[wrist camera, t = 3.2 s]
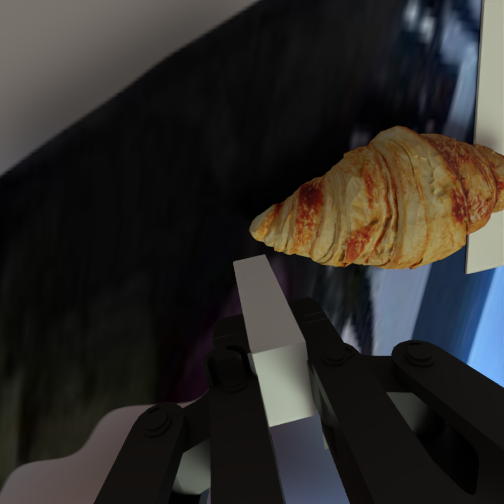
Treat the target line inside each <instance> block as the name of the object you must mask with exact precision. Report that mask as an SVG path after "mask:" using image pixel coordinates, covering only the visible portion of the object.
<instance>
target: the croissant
mask: <svg viewBox="0 0 504 504" xmlns="http://www.w3.org/2000/svg"><path fill="white" fill-rule="evenodd" d="M502 210H504V155H502V154H500V153H497V152H495V151H494V150H493V149H491V148H488V147H486V146H482V145H479V144H477V143H476V144H475V145H470V144H468V143H466V142H461V141H456V139H455V138H450V137H447V136H444V135H440V134H418V133H416V132H415V131H413V130H411V129H409V128H407V127H402V126H395V127H392V128H390V129H387V130H384V131H381V132H380V133H379V134H378V135H377V136H376V137H375V138H374V139H373V140H371V141H370V143H369V144H368V145H367V146H360V147H357V148H356V149H354V150H352V151H349V152H347V153H344V158H343V159H342V160H341V161H340V162H338V163H337V164H336V165H335V166H333V167H332V168H331V170H330V171H328V172H327V173H326V174H325V175H324V176H322V177H319V178H314V179H313V180H312V181H309V182H306V183H304V184H303V185H301V186H300V187H299V189H298V190H297V191H295V192H294V193H293V195H292V196H290V197H288V198H287V199H286V200H285V201H284V202H282V203H277V204H274V205H272V206H271V207H270V208H269V209H267V210H266V211H264V212H263V213H261V214H260V215H258V216H257V217H256V218H255V219H254V220H253V221H252V225H251V227H250V232H251V234H252V236H253V237H254V238H255V239H256V240H258V241H263V242H264V243H265V244H266V245H267V246H273V247H274V250H275V251H279V252H284V253H286V254H288V255H290V254H294V253H296V254H297V255H302V256H306V257H311V258H312V260H313V261H316V262H318V263H320V264H322V265H332V266H335V267H336V266H342V267H343V266H344V267H346V266H347V265H349V264H351V263H356V264H363V265H371V266H375V267H379V268H384V269H405V268H408V267H409V268H410V269H415V268H416V267H419V266H422V265H426V264H429V263H431V262H434V261H437V260H440V259H443V258H445V257H447V256H449V255H451V254H453V253H454V252H456V251H457V250H459V249H461V247H462V246H464V245H465V244H466V235H468V234H471V233H474V232H476V231H478V230H479V229H481V228H482V227H484V226H485V225H486V224H487V222H488V221H489V219H490V217H491V213H496V212H500V211H502Z"/></svg>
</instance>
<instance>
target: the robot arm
mask: <svg viewBox="0 0 504 504" xmlns="http://www.w3.org/2000/svg"><path fill="white" fill-rule="evenodd" d="M233 264H234V269H235V274H236V279H237V285H238V290H239V295H240V300H241V305H242V310H243V314H239V315H235V316H231V317H227V318H222V319H218V320H217V322H216V324H215V326H214V327H213V349H212V350H211V351H209V352H208V354H207V355H206V356H205V357H204V360H203V363H202V366H203V369H204V372H205V376H206V379H207V382H208V385H209V388H210V389H209V390H208V391H207V393H206V394H205V395H203V396H202V397H201V398H200V399H198V400H197V401H195V402H194V403H192V404H190V405H188V406H186V407H184V408H181V407H180V406H179V405H178V404H176V403H172V402H164V403H160V404H156V405H155V406H153V407H151V408H149V409H147V410H146V411H145V412H144V413H142V415H140V416H139V417H138V419H137V420H136V422H135V423H134V425H133V426H132V428H131V430H130V432H129V434H128V436H127V438H126V440H125V442H124V444H123V446H122V448H121V450H120V452H119V454H118V456H117V458H116V460H115V462H114V464H113V466H112V468H111V470H110V472H109V474H108V476H107V478H106V480H105V482H104V484H103V486H102V488H101V490H100V492H99V494H98V496H97V498H96V500H95V502H94V504H206V502H207V498H208V493H209V487H211V504H286V501H285V497H284V492H283V488H282V482H281V478H280V473H279V468H278V464H277V459H276V455H275V450H274V446H273V441H272V436H271V432H270V428H269V427H271V426H274V425H279V424H282V423H286V422H290V421H294V420H298V419H302V418H306V417H310V416H314V415H317V414H316V408H317V410H318V413H319V415H320V418H321V425H322V432H323V439H324V445H325V449H329V450H330V452H331V455H332V458H333V460H334V463H335V466H336V468H337V471H338V473H339V476H340V479H341V481H342V484H343V486H344V489H345V492H346V494H347V497H348V500H349V502H350V504H504V388H503V387H502V386H500V385H499V384H497V383H495V382H494V381H492V380H491V379H489V378H488V377H486V376H484V375H483V374H481V373H480V372H478V371H476V370H475V369H473V368H472V367H470V366H468V365H467V364H465V363H464V362H462V361H460V360H459V359H457V358H456V357H454V356H453V355H451V354H449V353H448V352H446V351H445V350H443V349H441V348H440V347H438V346H436V345H434V344H431V343H429V342H425V341H420V340H408V341H404V342H401V343H399V344H398V345H396V346H395V347H394V348H393V351H392V353H391V355H392V356H370V355H364V354H360V353H359V352H358V351H357V350H356V349H355V348H354V347H353V346H351V345H349V344H347V343H344V342H343V340H342V339H341V337H340V336H339V334H338V333H337V331H336V329H335V328H334V326H333V325H332V323H331V322H330V320H329V319H328V317H327V316H326V314H325V312H323V309H322V308H321V306H320V305H319V303H318V302H316V301H314V300H313V299H311V298H309V297H307V298H303V299H299V300H294V301H290V302H287V301H286V299H285V297H284V295H283V292H282V290H281V288H280V286H279V284H278V282H277V280H276V277H275V275H274V273H273V271H272V269H271V267H270V265H269V262H268V260H267V258H266V256H265V255H261V256H256V257H252V258H248V259H243V260H239V261H235V262H233ZM315 405H316V407H315Z"/></svg>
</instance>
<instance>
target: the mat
mask: <svg viewBox="0 0 504 504" xmlns="http://www.w3.org/2000/svg"><path fill="white" fill-rule="evenodd" d="M476 143H477V144H479V145H482V146H486V147H488V148H491V149H493V150H494V151H495V152H497V153H500V154H502V155H504V0H482V14H481V30H480V46H479V62H478V78H477V93H476V109H475V125H474V141H473V145H475V144H476ZM500 266H504V210H502V211H500V212H496V213H491V217H490V219H489V221H488V222H487V224H486V225H485V226H484V227H482V228H481V229H479V230H478V231H476V232H474V233H471V234H468V236H467V252H466V268H465V273H466V274H469V273H474V272H478V271H482V270H487V269H491V268H495V267H500Z"/></svg>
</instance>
